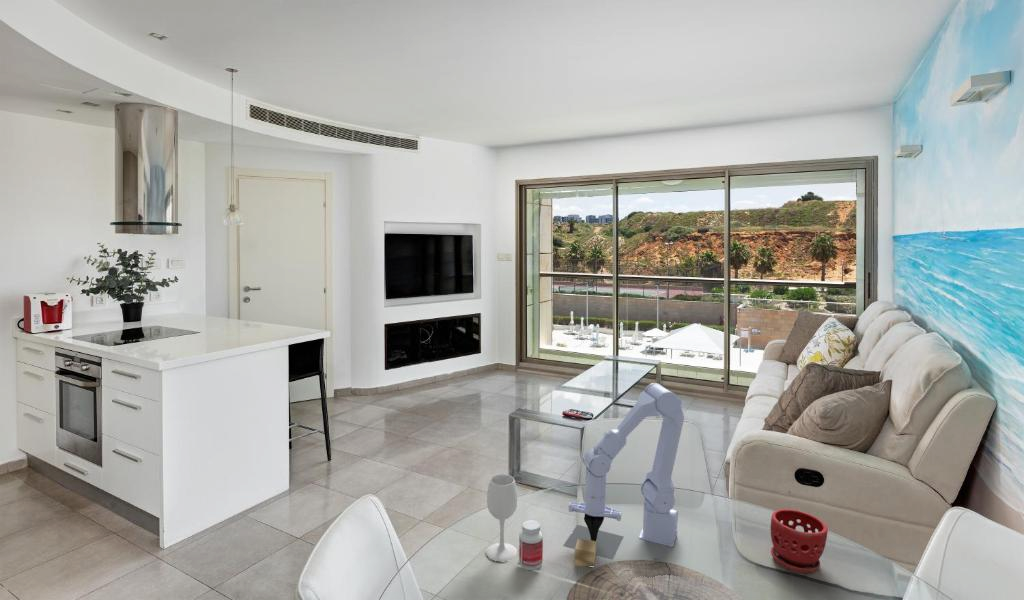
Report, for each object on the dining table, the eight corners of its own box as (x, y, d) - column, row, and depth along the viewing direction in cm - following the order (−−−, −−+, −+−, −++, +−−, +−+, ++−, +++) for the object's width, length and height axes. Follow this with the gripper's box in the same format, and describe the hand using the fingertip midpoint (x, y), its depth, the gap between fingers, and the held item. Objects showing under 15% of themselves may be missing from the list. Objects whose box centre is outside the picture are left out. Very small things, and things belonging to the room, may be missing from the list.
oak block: (595, 558, 145) (596, 541, 144) (593, 570, 140) (594, 552, 139) (577, 555, 146) (577, 538, 145) (574, 566, 141) (575, 549, 140)
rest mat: (623, 537, 154) (623, 536, 154) (612, 560, 144) (612, 559, 144) (577, 525, 160) (577, 524, 160) (563, 547, 150) (563, 545, 150)
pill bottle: (547, 566, 141) (547, 526, 140) (527, 574, 138) (528, 533, 136) (533, 554, 146) (533, 515, 145) (514, 561, 143) (514, 522, 141)
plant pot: (822, 584, 135) (826, 539, 133) (765, 566, 142) (768, 523, 140) (825, 558, 146) (828, 516, 144) (771, 542, 153) (774, 502, 151)
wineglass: (522, 548, 149) (523, 476, 146) (509, 566, 141) (510, 490, 138) (494, 540, 152) (495, 470, 150) (480, 557, 145) (480, 483, 142)
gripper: (623, 491, 152) (622, 536, 153) (573, 482, 156) (571, 526, 158) (620, 502, 145) (618, 550, 147) (567, 493, 150) (566, 539, 151)
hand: (593, 538), depth 152 cm, fingers closed
